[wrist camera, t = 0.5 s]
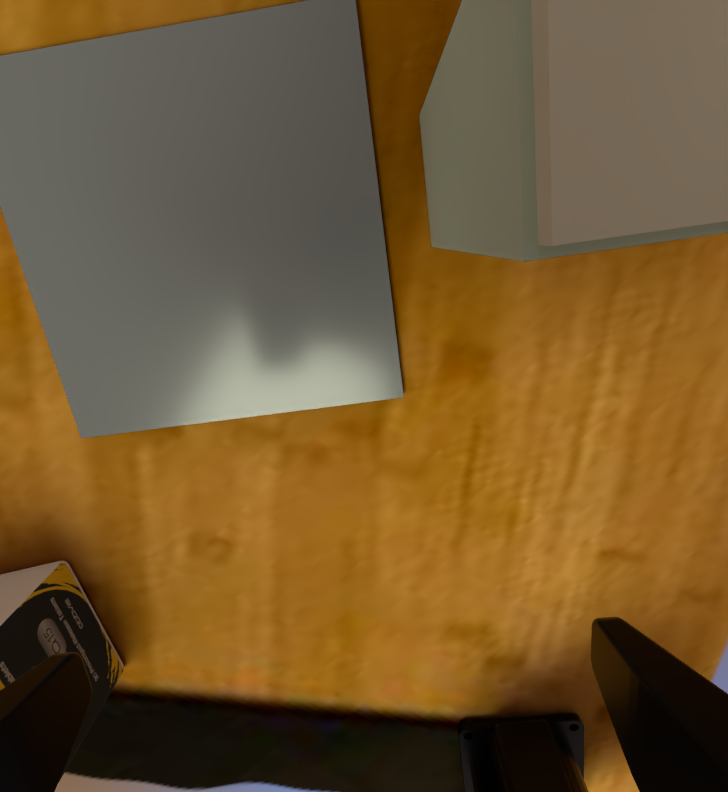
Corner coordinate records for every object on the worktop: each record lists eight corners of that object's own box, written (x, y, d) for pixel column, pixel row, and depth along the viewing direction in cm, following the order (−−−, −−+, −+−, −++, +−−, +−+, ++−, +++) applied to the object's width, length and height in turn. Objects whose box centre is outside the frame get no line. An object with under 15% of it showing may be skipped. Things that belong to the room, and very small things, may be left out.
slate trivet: (403, 394, 20) (403, 397, 20) (86, 434, 21) (81, 438, 21) (354, -3, 16) (354, -8, 16) (-40, 68, 17) (-49, 64, 16)
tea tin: (550, 229, 18) (890, 213, 6) (431, 246, 18) (537, 264, 6) (547, 94, 17) (977, -261, 5) (419, 115, 17) (524, -170, 5)
